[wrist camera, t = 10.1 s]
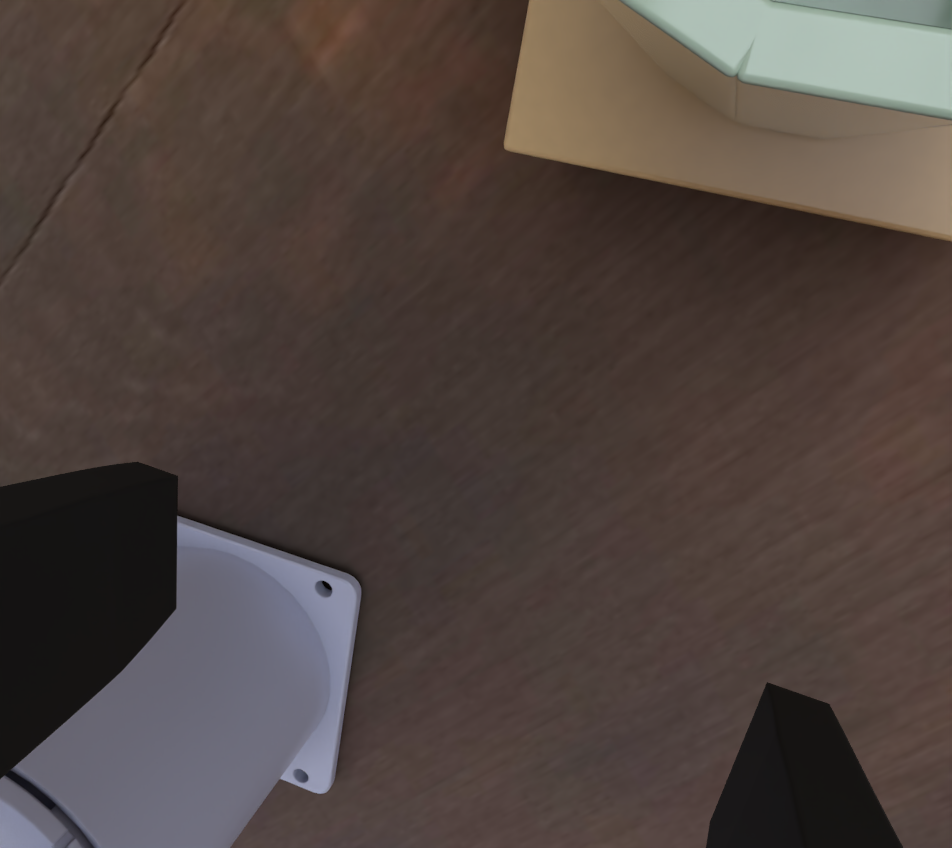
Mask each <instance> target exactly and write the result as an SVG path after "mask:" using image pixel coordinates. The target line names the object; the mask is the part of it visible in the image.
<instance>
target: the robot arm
mask: <svg viewBox="0 0 952 848" xmlns="http://www.w3.org/2000/svg"><path fill="white" fill-rule="evenodd" d="M177 496H178V476H176V475H174V474H171V473H168V472H165V471H162V470H159V469H156V468H154V467H151V466H148V465H145V464H142V463H139V462H132V463H124V464H115V465H109V466H102V467H97V468H91V469H86V470H80V471H75V472H70V473H65V474H60V475H55V476H50V477H45V478H40V479H36V480H31V481H26V482H22V483H17V484H12V485H7V486H3V487H0V848H230V847H231V846H232V844H233V843H234V841H235V840H236V839H237V837H238V836H239V834H240V833H241V832H242V830H243V829H244V828H245V826H246V825H247V823H248V822H249V821H250V819H251V818H252V816H253V815H254V814H255V812H256V811H257V810H258V808H259V807H260V805H261V804H262V803H263V801H264V800H265V798H266V797H267V796H268V794H269V793H270V791H271V790H272V789H273V787H274V786H275V785H276V783H277V782H278V780H279V779H282V780H285V781H287V782H290V783H292V784H294V785H297V786H299V787H302V788H304V789H307V790H309V791H311V792H314V793H318V794H322V793H326V792H327V791H329V789H330V787H331V786H332V784H333V782H334V780H335V774H336V767H337V760H338V753H339V746H340V739H341V732H342V726H343V719H344V712H345V705H346V698H347V691H348V684H349V677H350V670H351V663H352V656H353V650H354V643H355V636H356V629H357V622H358V615H359V608H360V601H361V594H362V593H361V586H360V584H359V582H358V581H357V580H356V579H355V578H354V577H353V576H351V575H349V574H348V573H345V572H342V571H339V570H336V569H333V568H330V567H327V566H324V565H321V564H318V563H315V562H312V561H310V560H307V559H304V558H301V557H298V556H295V555H292V554H289V553H286V552H283V551H280V550H277V549H274V548H271V547H268V546H266V545H263V544H260V543H257V542H254V541H251V540H248V539H245V538H242V537H239V536H236V535H233V534H230V533H227V532H224V531H222V530H219V529H216V528H213V527H210V526H207V525H204V524H201V523H198V522H195V521H192V520H189V519H186V518H183V517H180V516H178V515H177ZM322 581H326V582H327V583H329V584H330V586H331V587H332V590H329V589H327V588H325V586H324V585H323V584H322ZM302 770H303V771H302ZM304 771H305V772H306V773H305V772H304ZM706 848H903V846H902V844H901V843H900V841H899V839H898V837H897V835H896V833H895V831H894V829H893V827H892V826H891V824H890V822H889V820H888V818H887V816H886V814H885V812H884V810H883V808H882V806H881V804H880V802H879V800H878V799H877V797H876V795H875V793H874V791H873V789H872V787H871V785H870V783H869V781H868V779H867V777H866V775H865V773H864V771H863V769H862V767H861V765H860V763H859V761H858V759H857V757H856V755H855V753H854V751H853V749H852V747H851V745H850V743H849V741H848V739H847V737H846V735H845V733H844V731H843V729H842V727H841V725H840V724H839V722H838V720H837V718H836V716H835V714H834V712H833V710H832V708H831V707H830V705H829V704H827V703H825V702H822V701H819V700H816V699H813V698H810V697H807V696H805V695H802V694H799V693H796V692H793V691H790V690H787V689H785V688H782V687H779V686H776V685H773V684H770V683H768V682H767V684H766V687H765V689H764V691H763V694H762V696H761V699H760V701H759V704H758V706H757V709H756V711H755V713H754V716H753V718H752V721H751V723H750V726H749V728H748V731H747V733H746V735H745V738H744V740H743V743H742V745H741V748H740V750H739V752H738V755H737V757H736V760H735V762H734V765H733V767H732V770H731V772H730V774H729V777H728V779H727V782H726V784H725V787H724V789H723V792H722V794H721V796H720V799H719V801H718V804H717V806H716V809H715V811H714V813H713V816H712V818H711V821H710V826H709V832H708V839H707V845H706Z"/></svg>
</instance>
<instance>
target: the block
mask: <svg viewBox="0 0 952 848" xmlns="http://www.w3.org/2000/svg"><path fill="white" fill-rule="evenodd" d="M504 149H506V150H507V151H509V152H514V153H519V154H524V155H529V156H534V157H538V158H543V159H548V160H553V161H558V162H563V163H568V164H573V165H578V166H582V167H587V168H592V169H597V170H602V171H607V172H612V173H617V174H622V175H626V176H631V177H636V178H641V179H646V180H651V181H656V182H661V183H666V184H671V185H675V186H680V187H685V188H690V189H695V190H700V191H705V192H710V193H715V194H719V195H724V196H729V197H734V198H739V199H744V200H749V201H754V202H759V203H763V204H768V205H773V206H778V207H783V208H788V209H793V210H798V211H803V212H808V213H812V214H817V215H822V216H827V217H832V218H837V219H842V220H847V221H852V222H856V223H861V224H866V225H871V226H876V227H881V228H886V229H891V230H896V231H901V232H905V233H910V234H915V235H920V236H925V237H930V238H935V239H940V240H945V241H949V242H952V126H948V127H939V128H929V129H920V130H911V131H901V132H892V133H883V134H873V135H864V136H854V137H845V138H836V139H816V138H811V137H805V136H800V135H795V134H787V133H778V132H774V131H770V130H766V129H762V128H758V127H753V126H747V125H742V124H738V123H736V121H731V120H729V119H728V118H726V117H725V116H724V115H722V114H721V113H719V112H718V111H717V110H715V109H714V108H712V107H711V106H709V105H708V104H706V103H704V102H703V101H701V100H700V99H698V98H697V97H696V96H695V95H694V94H692V93H691V92H690V91H689V90H687V89H686V88H684V87H683V86H681V85H680V84H679V83H677V82H676V81H674V80H673V79H672V78H670V77H669V76H667V75H666V74H665V73H664V72H663V70H662V69H661V68H660V67H659V66H658V65H657V64H656V63H655V62H654V61H653V60H652V58H651V57H650V56H649V55H648V54H647V53H646V52H645V51H644V50H643V49H642V48H641V46H640V45H639V44H638V43H637V42H636V41H635V40H634V39H633V38H632V37H631V36H630V34H629V33H628V32H627V31H626V30H625V29H624V28H623V27H622V26H621V25H620V23H619V22H618V21H617V20H616V19H615V18H614V17H613V16H612V15H611V14H610V13H609V11H608V10H607V9H606V8H605V7H604V6H603V5H602V4H601V3H600V2H599V1H598V0H529V4H528V10H527V15H526V21H525V26H524V32H523V38H522V43H521V49H520V54H519V60H518V66H517V71H516V77H515V82H514V88H513V93H512V99H511V105H510V110H509V116H508V121H507V127H506V132H505V138H504Z"/></svg>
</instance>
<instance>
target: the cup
mask: <svg viewBox="0 0 952 848" xmlns="http://www.w3.org/2000/svg"><path fill="white" fill-rule="evenodd" d="M598 1H599V2H600V3H601V4H602V5H603V6H604V7H605V8H606V9H607V10H608V11H609V13H610V14H611V15H612V16H613V17H614V18H615V19H616V20H617V21H618V22H619V23H620V25H621V26H622V27H623V28H624V29H625V30H626V31H627V32H628V33H629V34H630V36H631V37H632V38H633V39H634V40H635V41H636V42H637V43H638V44H639V45H640V46H641V48H642V49H643V50H644V51H645V52H646V53H647V54H648V55H649V56H650V57H651V58H652V60H653V61H654V62H655V63H656V64H657V65H658V66H659V67H660V68H661V69H662V70H663V72H664V73H665V74H666V75H667V76H669V77H670V78H672V79H673V80H674V81H676V82H677V83H679V84H680V85H681V86H683V87H684V88H686V89H687V90H689V91H690V92H691V93H692V94H694V95H695V96H696V97H697V98H698V99H700V100H701V101H703V102H704V103H706V104H708V105H709V106H711V107H712V108H714V109H715V110H717V111H718V112H719V113H721V114H722V115H724V116H725V117H726V118H728V119H729V120H731V121H736V123H738V124H742V125H747V126H753V127H758V128H762V129H766V130H770V131H774V132H778V133H787V134H795V135H800V136H805V137H811V138H816V139H836V138H845V137H854V136H864V135H873V134H883V133H892V132H901V131H911V130H920V129H929V128H939V127H948V126H952V0H598Z"/></svg>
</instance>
